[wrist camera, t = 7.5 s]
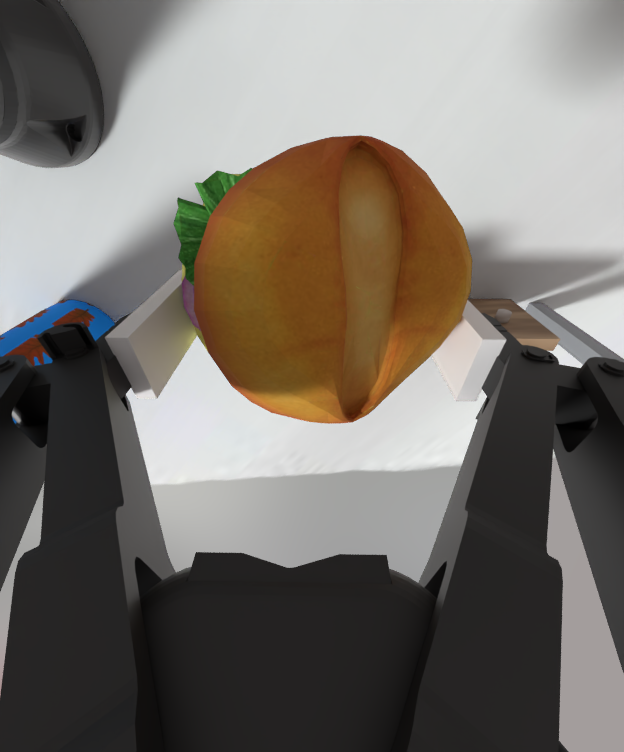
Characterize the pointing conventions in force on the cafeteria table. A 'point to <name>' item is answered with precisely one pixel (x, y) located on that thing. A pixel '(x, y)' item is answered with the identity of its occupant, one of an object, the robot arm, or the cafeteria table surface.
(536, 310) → the door frame
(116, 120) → the cafeteria table surface
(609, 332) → the cafeteria table surface
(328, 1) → the cafeteria table surface
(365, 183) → the cheeseburger
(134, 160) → the cafeteria table surface
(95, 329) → the thermos
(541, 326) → the door
